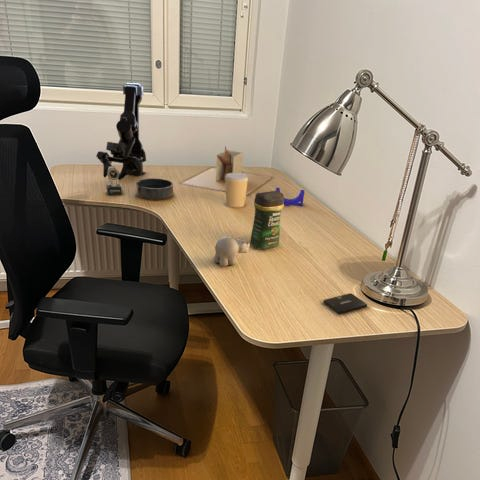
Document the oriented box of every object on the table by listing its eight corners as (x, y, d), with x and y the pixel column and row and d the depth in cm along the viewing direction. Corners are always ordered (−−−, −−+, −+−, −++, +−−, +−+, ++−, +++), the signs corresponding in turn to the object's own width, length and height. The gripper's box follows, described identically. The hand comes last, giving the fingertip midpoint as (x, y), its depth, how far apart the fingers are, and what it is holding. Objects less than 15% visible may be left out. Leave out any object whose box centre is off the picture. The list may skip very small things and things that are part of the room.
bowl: (151, 187, 206) (151, 176, 203) (180, 194, 200) (179, 182, 198) (129, 195, 194) (128, 183, 192) (158, 203, 189) (158, 191, 186)
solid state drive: (322, 302, 127) (323, 299, 127) (350, 295, 131) (351, 293, 131) (339, 314, 122) (339, 312, 122) (367, 306, 126) (368, 304, 126)
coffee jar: (260, 252, 153) (265, 197, 143) (246, 243, 159) (250, 190, 149) (282, 247, 158) (289, 193, 148) (269, 239, 163) (274, 186, 154)
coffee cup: (249, 203, 196) (252, 175, 189) (240, 209, 188) (242, 180, 182) (230, 199, 199) (231, 171, 192) (220, 205, 191) (221, 176, 185)
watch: (109, 196, 192) (106, 169, 186) (106, 191, 198) (103, 164, 192) (122, 195, 193) (120, 168, 188) (119, 190, 200) (117, 164, 194)
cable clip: (274, 204, 197) (275, 190, 193) (274, 201, 200) (276, 187, 197) (302, 207, 196) (304, 193, 193) (302, 203, 200) (304, 190, 197)
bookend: (215, 181, 220) (216, 145, 212) (224, 176, 229) (226, 141, 220) (232, 184, 218) (234, 147, 209) (241, 179, 227) (243, 143, 218)
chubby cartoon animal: (254, 263, 146) (256, 238, 141) (221, 269, 140) (222, 243, 136) (242, 254, 151) (244, 229, 146) (210, 260, 145) (211, 235, 141)
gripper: (96, 130, 189) (82, 163, 186) (135, 136, 184) (121, 170, 181) (109, 147, 199) (96, 179, 196) (147, 153, 194) (134, 185, 191)
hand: (111, 178), depth 191 cm, fingers closed on watch, 7 cm apart
